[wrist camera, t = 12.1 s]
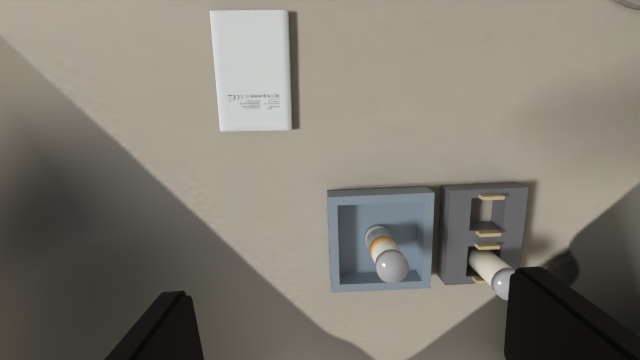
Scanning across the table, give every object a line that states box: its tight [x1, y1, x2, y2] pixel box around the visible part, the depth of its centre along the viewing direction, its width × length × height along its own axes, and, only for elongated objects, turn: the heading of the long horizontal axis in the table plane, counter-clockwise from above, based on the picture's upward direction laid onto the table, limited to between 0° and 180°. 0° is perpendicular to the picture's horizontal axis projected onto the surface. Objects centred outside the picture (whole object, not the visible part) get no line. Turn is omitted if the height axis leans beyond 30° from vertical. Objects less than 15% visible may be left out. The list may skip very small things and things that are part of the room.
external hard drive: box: [210, 10, 292, 131], centre depth 34 cm, size 2×8×12 cm
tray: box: [327, 186, 435, 292], centre depth 37 cm, size 12×12×3 cm
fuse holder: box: [437, 182, 529, 285], centre depth 37 cm, size 9×12×4 cm
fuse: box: [467, 246, 515, 300], centre depth 35 cm, size 3×3×8 cm
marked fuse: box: [365, 224, 409, 283], centre depth 34 cm, size 3×3×8 cm
